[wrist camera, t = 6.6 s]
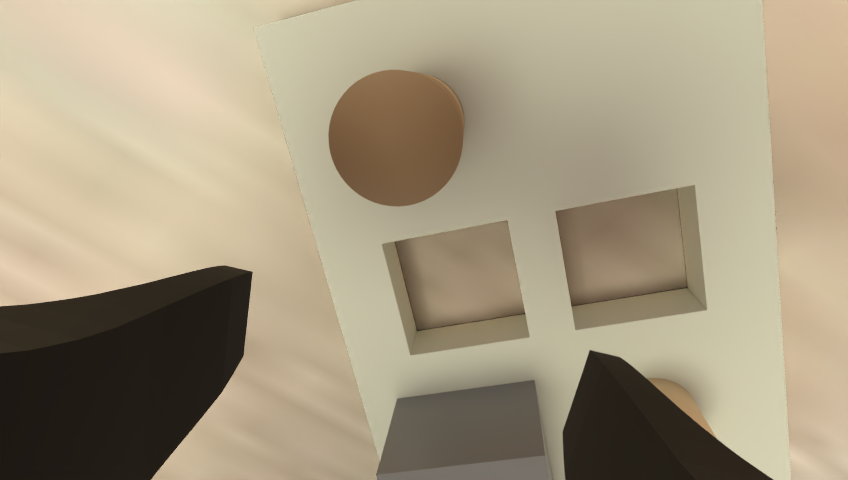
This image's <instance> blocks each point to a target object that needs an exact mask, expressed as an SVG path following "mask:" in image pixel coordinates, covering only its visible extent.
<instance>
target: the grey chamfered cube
mask: <svg viewBox="0 0 848 480" xmlns="http://www.w3.org/2000/svg"><path fill="white" fill-rule="evenodd" d="M376 475H377V479H378V480H553V475H552V470H551V464H550V459H549V454H548V449H547V443H546V438H545V433H544V428H543V422H542V417H541V412H540V406H539V401H538V396H537V391H536V385H535V380H530V381H523V382H515V383H508V384H501V385H493V386H486V387H479V388H471V389H464V390H457V391H449V392H442V393H435V394H427V395H420V396H413V397H405V398H398V399H397V401H396V404H395V408H394V412H393V415H392V419H391V423H390V426H389V430H388V434H387V437H386V441H385V445H384V448H383V452H382V456H381V460H380V463H379V467H378V471H377V474H376Z"/></svg>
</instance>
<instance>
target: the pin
mask: <svg viewBox="0 0 848 480" xmlns="http://www.w3.org/2000/svg"><path fill="white" fill-rule="evenodd" d="M464 124H465V118H464V111H463V107H462V104H461V102H460V100H459V98H458V96H457V95H456V93H455V92H454V90H453V89H452V88H451V87H450V86H449V85H447V84H446V83H445V82H444V81H442V80H440V79H438V78H436V77H434V76H431V75H427V74H421V73H416V72H410V71H404V70H384V71H379V72H375V73H372V74H370V75H367V76H365V77H363V78H362V79H360V80H358V81H357V82H355V83H354V84H353V85H352V86H350V87H349V88H348V89H347V91H346V92H345V93H344V94H343V95H342V97H341V98H340V99H339V101H338V103H337V105H336V106H335V108H334V111H333V114H332V116H331V120H330V124H329V133H328V138H329V148H330V154H331V157H332V160H333V163H334V165H335V167H336V169H337V171H338V173H339V174H340V176H341V177H342V179H343V180H344V181H345V183H346V184H347V185H348V186H349V187H350V188H351V189H352V190H354V191H355V192H356V193H357V194H359V195H360V196H362V197H364V198H365V199H367V200H370V201H372V202H374V203H378V204H381V205H386V206H398V207H400V206H409V205H413V204H417V203H419V202H422V201H425V200H426V199H428V198H430V197H432V196H433V195H435V194H436V193H438V192H439V191H440V190H441V189H442V188H443V187H444V186H445V185H446V184H447V183H448V181H449V180H450V179H451V177H452V176H453V174H454V172H455V171H456V168H457V166H458V164H459V161H460V157H461V153H462V147H463V137H464Z"/></svg>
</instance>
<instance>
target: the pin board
mask: <svg viewBox="0 0 848 480" xmlns="http://www.w3.org/2000/svg"><path fill="white" fill-rule="evenodd" d="M253 29H254V33H255V36H256V40H257V43H258V46H259V50H260V53H261V57H262V60H263V64H264V67H265V70H266V74H267V77H268V81H269V84H270V88H271V91H272V94H273V98H274V101H275V105H276V108H277V112H278V115H279V118H280V122H281V125H282V129H283V132H284V136H285V139H286V142H287V146H288V149H289V153H290V156H291V160H292V163H293V166H294V170H295V173H296V177H297V180H298V184H299V187H300V190H301V194H302V197H303V201H304V204H305V208H306V211H307V214H308V218H309V221H310V225H311V228H312V232H313V235H314V238H315V242H316V245H317V249H318V252H319V256H320V259H321V262H322V266H323V269H324V273H325V276H326V280H327V283H328V286H329V290H330V293H331V297H332V300H333V304H334V307H335V310H336V314H337V317H338V321H339V324H340V328H341V331H342V334H343V338H344V341H345V345H346V348H347V352H348V355H349V358H350V362H351V365H352V369H353V372H354V376H355V379H356V382H357V386H358V389H359V393H360V396H361V400H362V403H363V406H364V410H365V413H366V417H367V420H368V424H369V427H370V430H371V434H372V437H373V441H374V444H375V448H376V451H377V454H378V458H379V461H380V460H381V456H382V452H383V448H384V445H385V441H386V437H387V434H388V430H389V426H390V423H391V419H392V415H393V412H394V408H395V404H396V401H397V399H398V398H405V397H413V396H420V395H427V394H435V393H442V392H449V391H457V390H464V389H471V388H479V387H486V386H493V385H501V384H508V383H515V382H523V381H530V380H535V385H536V391H537V396H538V401H539V406H540V412H541V417H542V422H543V428H544V433H545V438H546V443H547V449H548V454H549V459H550V464H551V470H552V475H553V480H565V472H564V457H563V433H562V432H563V429H564V426H565V423H566V420H567V417H568V414H569V411H570V408H571V405H572V402H573V399H574V396H575V393H576V390H577V387H578V384H579V381H580V378H581V375H582V372H583V369H584V366H585V363H586V360H587V357H588V354H589V351H590V350H592V351H596V352H600V353H605V354H609V355H613V356H618V357H620V358H622V359H623V360H625V361H626V362H628V363H629V364H630V365H631V366H633V367H634V368H635V369H636V370H637V371H639V372H640V373H641V374H642V375H643V376H644V377H645V378H647V379H648V380H649V381H650V382H651V383H652V384H653V385H654V386H655V387H657V388H658V389H659V390H660V391H661V392H662V393H663V394H664V395H666V396H667V397H668V398H669V399H670V400H671V401H672V402H673V403H675V404H676V405H677V406H678V407H679V408H680V409H681V410H683V411H684V412H685V413H686V414H687V415H688V416H690V417H691V418H692V419H693V420H694V421H696V422H697V423H698V424H699V425H700V426H701V427H703V428H704V429H705V430H706V431H708V432H709V433H710V434H712V435H713V436H714V437H715V438H717V439H718V440H719V441H720V442H722V443H723V444H724V445H725V446H727V447H728V448H729V449H731V450H732V451H733V452H735V453H736V454H737V455H739V456H740V457H741V458H743V459H744V460H746V461H747V462H748V463H750V464H751V465H753V466H754V467H756V468H757V469H759V470H760V471H762V472H763V473H764V474H766V475H767V476H769V477H770V478H772V479H773V480H791V470H790V453H789V436H788V420H787V403H786V386H785V370H784V353H783V337H782V320H781V303H780V287H779V270H778V253H777V237H776V220H775V204H774V187H773V170H772V154H771V137H770V120H769V104H768V87H767V70H766V54H765V37H764V21H763V4H762V0H355V1H351V2H348V3H344V4H340V5H336V6H333V7H329V8H325V9H321V10H318V11H314V12H310V13H306V14H302V15H299V16H295V17H291V18H287V19H284V20H280V21H276V22H272V23H269V24H265V25H261V26H257V27H254V28H253ZM384 70H404V71H410V72H416V73H421V74H427V75H431V76H434V77H436V78H438V79H440V80H442V81H444V82H445V83H446V84H447V85H449V86H450V87H451V88H452V89H453V90H454V92H455V93H456V95H457V96H458V98H459V100H460V102H461V104H462V107H463V111H464V118H465V124H464V137H463V147H462V153H461V157H460V161H459V164H458V166H457V168H456V171H455V172H454V174H453V176H452V177H451V179H450V180H449V181H448V183H447V184H446V185H445V186H444V187H443V188H442V189H441V190H440V191H439V192H438V193H436V194H435V195H433V196H432V197H430V198H428V199H426V200H425V201H422V202H419V203H417V204H413V205H409V206H400V207H398V206H386V205H381V204H378V203H374V202H372V201H370V200H367V199H365V198H364V197H362V196H360V195H359V194H357V193H356V192H355V191H354V190H352V189H351V188H350V187H349V186H348V185H347V184H346V183H345V181H344V180H343V179H342V177H341V176H340V174H339V173H338V171H337V169H336V167H335V165H334V163H333V160H332V157H331V154H330V148H329V138H328V133H329V124H330V120H331V116H332V114H333V111H334V108H335V106H336V105H337V103H338V101H339V99H340V98H341V97H342V95H343V94H344V93H345V92H346V91H347V89H348V88H349V87H350V86H352V85H353V84H354V83H355V82H357V81H358V80H360V79H362V78H363V77H365V76H367V75H370V74H372V73H375V72H379V71H384ZM676 188H677V193H678V202H679V211H680V220H681V230H682V239H683V248H684V258H685V267H686V276H687V286H688V288H684V289H678V290H671V291H665V292H659V293H653V294H646V295H640V296H634V297H628V298H622V299H615V300H609V301H603V302H597V303H590V304H584V305H578V306H572V307H571V301H570V295H569V289H568V283H567V278H566V272H565V266H564V260H563V254H562V248H561V242H560V236H559V230H558V224H557V218H556V212H555V211H559V210H564V209H570V208H575V207H580V206H586V205H591V204H596V203H601V202H607V201H612V200H617V199H623V198H628V197H633V196H638V195H644V194H649V193H654V192H660V191H665V190H670V189H676ZM506 220H507V222H508V227H509V232H510V237H511V243H512V248H513V253H514V258H515V263H516V268H517V274H518V279H519V284H520V289H521V294H522V299H523V305H524V310H525V314H522V315H515V316H509V317H503V318H497V319H491V320H484V321H478V322H472V323H466V324H459V325H453V326H447V327H441V328H434V329H428V330H422V331H417V329H416V325H415V322H414V318H413V314H412V310H411V306H410V302H409V298H408V294H407V290H406V286H405V282H404V278H403V274H402V270H401V266H400V262H399V258H398V254H397V250H396V246H395V241H400V240H405V239H411V238H416V237H421V236H427V235H432V234H437V233H442V232H448V231H453V230H458V229H464V228H469V227H474V226H480V225H485V224H490V223H495V222H501V221H506Z"/></svg>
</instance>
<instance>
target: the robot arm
mask: <svg viewBox="0 0 848 480" xmlns="http://www.w3.org/2000/svg"><path fill="white" fill-rule="evenodd" d="M251 280H252V272H251V271H246V270H242V269H238V268H233V267H229V266H216V267H210V268H205V269H201V270H197V271H193V272H189V273H185V274H181V275H177V276H173V277H169V278H165V279H161V280H157V281H153V282H149V283H145V284H141V285H137V286H132V287H128V288H123V289H118V290H114V291H109V292H105V293H100V294H96V295H90V296H85V297H79V298H73V299H66V300H59V301H52V302H44V303H36V304H27V305H15V306H1V307H0V480H151V479H152V477H153V476H154V475H155V473H156V472H157V471H158V470H159V468H160V467H161V466H162V465H163V464H164V462H165V461H166V460H167V459H168V458H169V456H170V455H171V454H172V453H173V451H174V450H175V449H176V448H177V447H178V445H179V444H180V443H181V442H182V441H183V439H184V438H185V437H186V436H187V435H188V433H189V432H190V431H191V430H192V428H193V427H194V426H195V425H196V424H197V422H198V421H199V420H200V419H201V418H202V416H203V415H204V414H205V413H206V411H207V410H208V409H209V408H210V406H211V405H212V404H213V403H214V401H215V400H216V399H217V398H218V396H219V395H220V394H221V393H222V391H223V389H224V388H225V386H226V385H227V383H228V381H229V380H230V378H231V376H232V375H233V373H234V371H235V370H236V368H237V366H238V364H239V363H240V361H241V359H242V357H243V354H244V345H245V336H246V327H247V317H248V308H249V299H250V290H251ZM562 433H563V457H564V472H565V480H773V479H772V478H770V477H769V476H767V475H766V474H764V473H763V472H762V471H760V470H759V469H757V468H756V467H754V466H753V465H751V464H750V463H748V462H747V461H746V460H744V459H743V458H741V457H740V456H739V455H737V454H736V453H735V452H733V451H732V450H731V449H729V448H728V447H727V446H725V445H724V444H723V443H722V442H720V441H719V440H718V439H717V438H715V437H714V436H713V435H712V434H710V433H709V432H708V431H706V430H705V429H704V428H703V427H701V426H700V425H699V424H698V423H697V422H696V421H694V420H693V419H692V418H691V417H690V416H688V415H687V414H686V413H685V412H684V411H683V410H681V409H680V408H679V407H678V406H677V405H676V404H675V403H673V402H672V401H671V400H670V399H669V398H668V397H667V396H666V395H664V394H663V393H662V392H661V391H660V390H659V389H658V388H657V387H655V386H654V385H653V384H652V383H651V382H650V381H649V380H648V379H647V378H645V377H644V376H643V375H642V374H641V373H640V372H639V371H637V370H636V369H635V368H634V367H633V366H631V365H630V364H629V363H628V362H626V361H625V360H623V359H622V358H620V357H618V356H613V355H609V354H605V353H600V352H596V351H592V350H590V351H589V354H588V357H587V360H586V363H585V366H584V369H583V372H582V375H581V378H580V381H579V384H578V387H577V390H576V393H575V396H574V399H573V402H572V405H571V408H570V411H569V414H568V417H567V420H566V423H565V426H564V429H563V432H562Z"/></svg>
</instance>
